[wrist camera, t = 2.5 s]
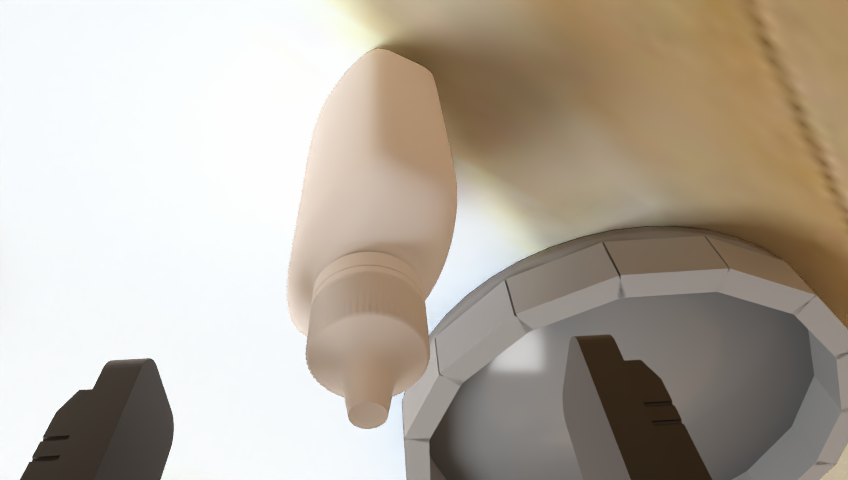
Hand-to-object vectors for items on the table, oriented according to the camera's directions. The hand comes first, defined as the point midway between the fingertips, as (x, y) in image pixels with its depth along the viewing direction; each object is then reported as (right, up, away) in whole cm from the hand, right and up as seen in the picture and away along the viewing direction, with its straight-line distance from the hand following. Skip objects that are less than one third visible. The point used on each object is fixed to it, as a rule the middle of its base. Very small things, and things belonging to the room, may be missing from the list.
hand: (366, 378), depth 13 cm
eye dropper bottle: (-1, +6, +9) cm, 11 cm away
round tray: (+10, -5, +17) cm, 20 cm away
